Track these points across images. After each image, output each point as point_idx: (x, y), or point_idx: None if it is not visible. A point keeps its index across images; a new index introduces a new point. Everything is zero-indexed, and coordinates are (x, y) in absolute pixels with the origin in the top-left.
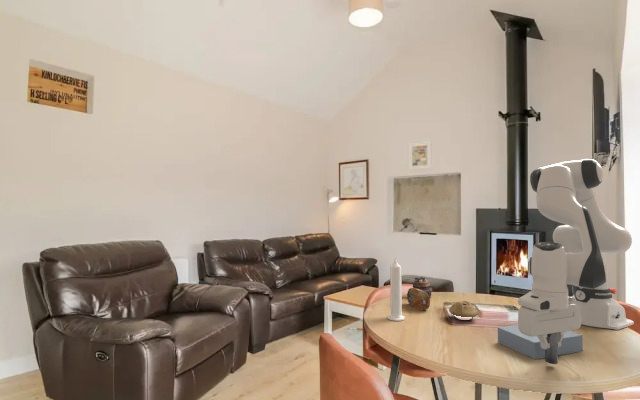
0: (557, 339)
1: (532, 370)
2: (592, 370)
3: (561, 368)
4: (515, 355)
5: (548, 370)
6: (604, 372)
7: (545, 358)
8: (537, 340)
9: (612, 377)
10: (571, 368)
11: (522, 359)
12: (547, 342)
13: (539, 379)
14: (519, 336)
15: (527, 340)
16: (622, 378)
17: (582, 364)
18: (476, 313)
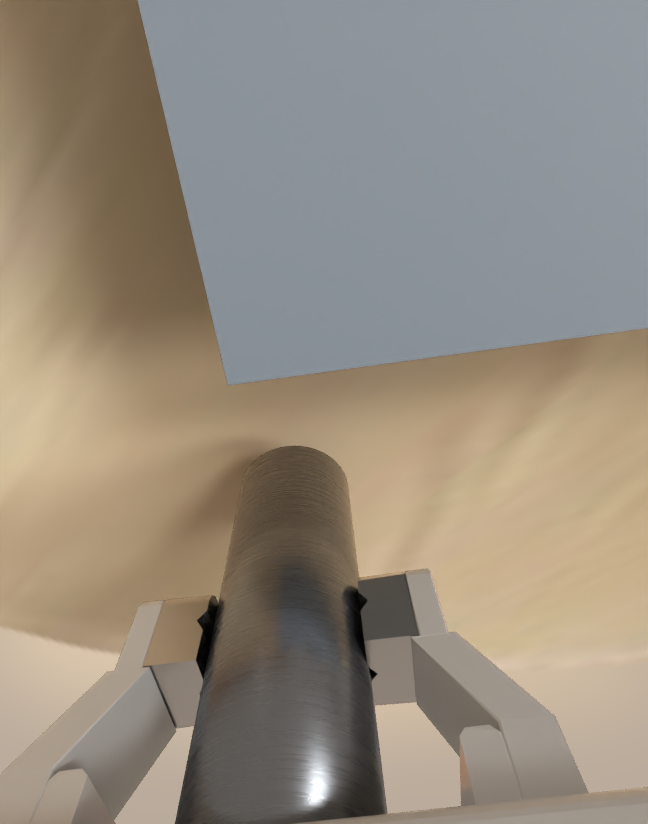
0: (423, 686)
1: (62, 501)
2: (569, 562)
3: (354, 505)
4: (83, 156)
5: (208, 519)
6: (619, 594)
7: (240, 494)
8: (354, 310)
9: (583, 648)
10: (440, 516)
11: (106, 282)
12: (165, 744)
13: (30, 615)
14: (141, 14)
15: (194, 241)
16: (630, 663)
17: (615, 472)
18: None
